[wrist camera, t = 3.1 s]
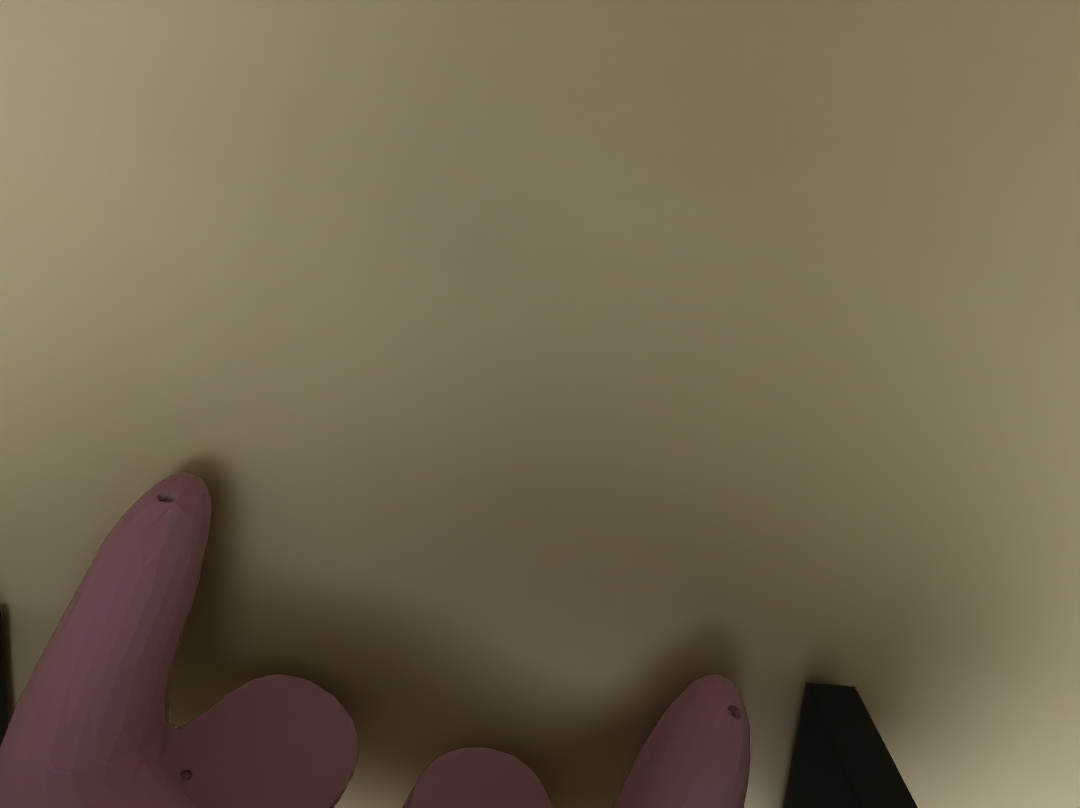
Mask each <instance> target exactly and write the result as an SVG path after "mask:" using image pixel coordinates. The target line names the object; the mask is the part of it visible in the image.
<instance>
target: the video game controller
mask: <svg viewBox="0 0 1080 808" xmlns="http://www.w3.org/2000/svg"><path fill="white" fill-rule="evenodd" d="M211 507H212V504H211V498H210V493H209V491H208V489H207V487H206V485H205V482H204V481H203V480H201V479H200V478H199V477H197V476H195V475H192V474H188V473H185V472H183V473H179V474H175V475H171V476H169V477H168V478H166V479H164V480H163V481H161V482H159V483H158V484H156V485H154V486H153V487H152V488H151V489H150V490H149V491H148V492H147V493H145V494H144V495H143V496H142V497H141V498H140V499H139V500H138V501H137V502H136V503H135V504H134V505H133V506H132V507H131V508H130V509H129V510H128V511H127V512H126V513H125V514H124V515H123V517H122V518H121V519H120V521H119V522H118V523H117V524H116V526H115V527H114V528H113V530H112V531H111V532H110V534H109V535H108V537H107V538H106V540H105V541H104V543H103V544H102V546H101V548H100V549H99V551H98V553H97V555H96V557H95V559H94V560H93V562H92V564H91V566H90V568H89V570H88V571H87V573H86V575H85V577H84V579H83V580H82V582H81V584H80V586H79V588H78V590H77V591H76V593H75V595H74V597H73V599H72V601H71V602H70V604H69V606H68V608H67V610H66V612H65V613H64V615H63V617H62V619H61V621H60V623H59V624H58V626H57V628H56V630H55V632H54V634H53V635H52V637H51V639H50V641H49V643H48V644H47V646H46V648H45V650H44V652H43V654H42V655H41V657H40V659H39V661H38V663H37V665H36V667H35V669H34V671H33V673H32V675H31V677H30V679H29V681H28V683H27V685H26V687H25V689H24V691H23V693H22V695H21V697H20V699H19V701H18V703H17V705H16V707H15V710H14V713H13V715H12V718H11V721H10V723H9V726H8V728H7V731H6V734H5V736H4V739H3V742H2V744H1V747H0V808H334V806H335V804H336V803H337V802H338V801H339V800H340V798H341V796H342V794H343V792H344V790H345V789H346V787H347V785H348V783H349V781H350V779H351V777H352V775H353V772H354V769H355V766H356V763H357V756H358V739H357V733H356V730H355V727H354V724H353V721H352V718H351V717H350V715H349V714H348V712H347V711H346V709H345V708H344V707H343V706H342V705H341V704H340V702H339V701H338V700H337V699H336V698H335V697H334V696H333V695H331V694H330V693H329V692H327V691H326V690H324V689H323V688H321V687H319V686H318V685H316V684H314V683H312V682H311V681H309V680H305V679H302V678H298V677H294V676H289V675H284V674H280V675H268V676H264V677H260V678H256V679H253V680H250V681H249V682H247V683H245V684H244V685H242V686H240V687H239V688H237V689H236V690H234V691H232V692H231V693H229V694H228V695H227V696H225V697H224V698H223V699H221V700H220V701H219V702H218V703H216V704H215V705H214V706H213V707H211V708H210V709H209V710H208V711H206V712H205V713H203V714H202V715H200V716H198V717H197V718H195V719H194V720H192V721H190V722H189V723H187V724H185V725H184V726H182V727H181V728H175V727H173V726H172V725H171V723H170V722H169V702H170V691H171V680H172V669H173V664H174V661H175V658H176V654H177V651H178V648H179V645H180V641H181V638H182V635H183V631H184V628H185V625H186V622H187V618H188V615H189V612H190V609H191V605H192V602H193V599H194V595H195V592H196V589H197V586H198V582H199V578H200V573H201V569H202V564H203V559H204V554H205V549H206V544H207V539H208V535H209V531H210V519H211ZM749 769H750V727H749V722H748V717H747V713H746V708H745V705H744V702H743V699H742V696H741V693H740V691H739V689H738V688H737V687H736V685H735V684H734V682H732V681H731V680H729V679H728V678H726V677H724V676H722V675H719V674H710V675H706V676H703V677H701V678H699V679H696V680H695V681H693V682H691V683H689V685H688V686H687V687H686V689H685V690H684V691H683V692H682V693H681V694H680V695H679V696H678V697H677V698H676V699H675V700H674V701H673V702H672V703H671V704H670V705H669V706H668V708H667V709H666V711H665V713H664V714H663V716H662V717H661V719H660V720H659V722H658V723H657V725H656V726H655V728H654V729H653V731H652V732H651V734H650V735H649V737H648V738H647V740H646V741H645V743H644V744H643V746H642V748H641V750H640V752H639V754H638V756H637V758H636V760H635V762H634V764H633V766H632V768H631V770H630V772H629V774H628V776H627V778H626V780H625V782H624V784H623V786H622V788H621V790H620V792H619V794H618V796H617V798H616V800H615V802H614V804H613V806H612V808H743V807H744V802H745V797H746V791H747V785H748V777H749ZM402 808H552V806H551V802H550V799H549V797H548V795H547V793H546V790H545V788H544V786H543V784H542V782H541V781H540V779H539V778H538V777H537V775H536V774H535V773H534V772H533V771H532V770H531V769H530V768H529V767H528V766H527V765H525V764H524V763H523V762H521V761H520V760H518V759H517V758H515V757H514V756H512V755H510V754H507V753H504V752H502V751H499V750H495V749H490V748H486V747H469V748H461V749H456V750H453V751H450V752H447V753H445V754H443V755H441V756H440V757H438V758H437V759H435V760H434V761H433V762H432V763H431V764H430V765H429V766H428V767H427V769H426V770H425V771H424V772H423V773H422V774H421V775H420V777H419V779H418V781H417V783H416V785H415V787H414V788H413V790H412V791H411V793H410V795H409V797H408V798H407V800H406V802H405V804H404V806H403V807H402Z"/></svg>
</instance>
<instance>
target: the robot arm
mask: <svg viewBox="0 0 1080 808" xmlns="http://www.w3.org/2000/svg"><path fill="white" fill-rule="evenodd" d="M7 728H8V715H7V699H6V684H5V668H4V653H3V637H2V621H1V611H0V747H1V744H2V742H3V739H4V736H5V734H6V731H7ZM784 808H917V806H916V804H915V802H914V800H913V798H912V796H911V794H910V792H909V790H908V788H907V786H906V784H905V783H904V781H903V779H902V777H901V775H900V773H899V771H898V769H897V767H896V765H895V763H894V761H893V759H892V757H891V756H890V754H889V752H888V750H887V748H886V746H885V744H884V742H883V740H882V738H881V736H880V734H879V732H878V730H877V729H876V727H875V725H874V723H873V721H872V719H871V717H870V715H869V713H868V711H867V709H866V707H865V705H864V703H863V702H862V700H861V698H860V696H859V694H858V692H857V690H856V688H855V687H850V686H839V685H828V684H817V683H806V686H805V692H804V698H803V703H802V709H801V715H800V721H799V726H798V732H797V738H796V744H795V749H794V755H793V761H792V767H791V773H790V778H789V784H788V790H787V796H786V801H785V807H784Z"/></svg>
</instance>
